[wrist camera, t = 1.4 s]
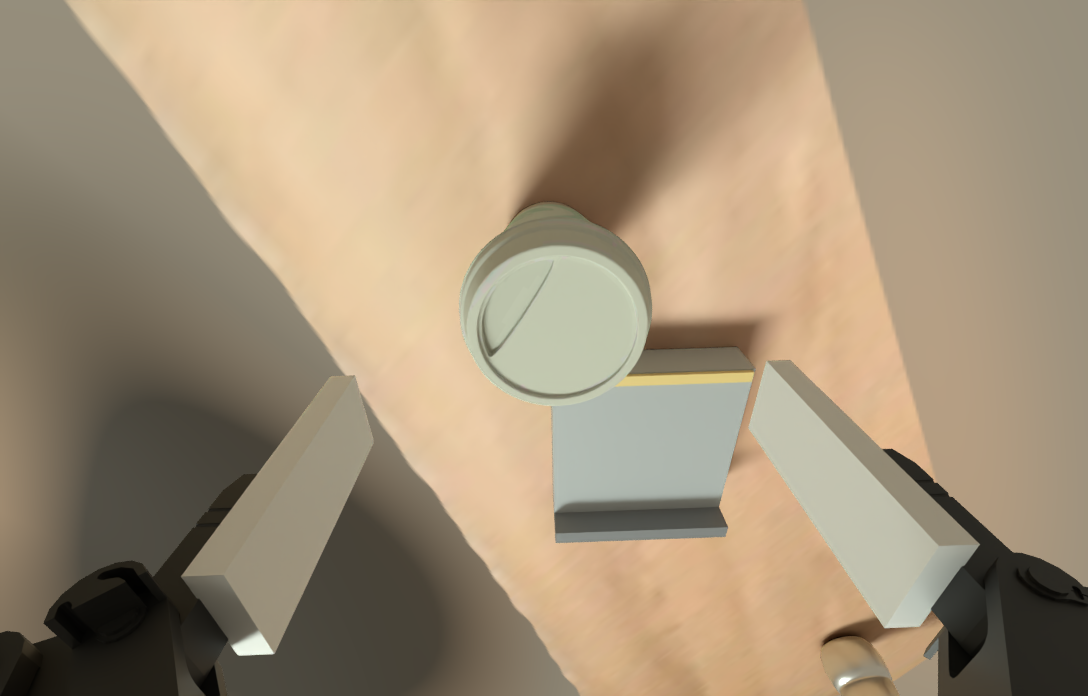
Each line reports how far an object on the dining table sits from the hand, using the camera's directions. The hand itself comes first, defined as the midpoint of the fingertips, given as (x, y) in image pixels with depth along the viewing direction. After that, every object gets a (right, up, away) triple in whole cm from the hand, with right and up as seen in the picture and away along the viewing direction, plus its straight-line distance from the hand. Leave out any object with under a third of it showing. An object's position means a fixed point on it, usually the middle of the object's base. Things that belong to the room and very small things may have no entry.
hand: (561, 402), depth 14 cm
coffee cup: (0, +8, +14) cm, 16 cm away
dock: (+7, -4, +21) cm, 23 cm away
